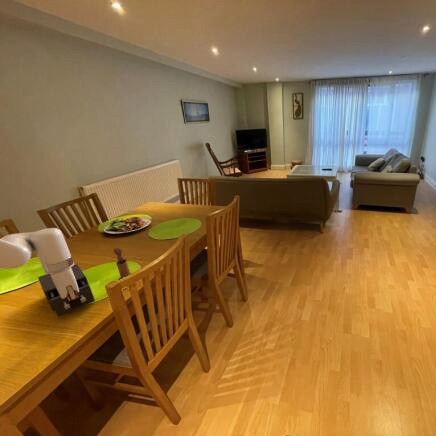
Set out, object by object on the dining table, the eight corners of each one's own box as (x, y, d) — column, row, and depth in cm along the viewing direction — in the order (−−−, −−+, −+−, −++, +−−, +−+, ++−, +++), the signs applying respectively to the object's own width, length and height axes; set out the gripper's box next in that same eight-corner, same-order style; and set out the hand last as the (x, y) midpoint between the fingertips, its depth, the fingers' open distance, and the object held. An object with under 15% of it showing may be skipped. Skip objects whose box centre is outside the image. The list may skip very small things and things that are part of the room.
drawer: (98, 305, 95) (92, 289, 92) (60, 323, 87) (52, 306, 84) (86, 287, 105) (80, 272, 102) (51, 301, 97) (43, 285, 94)
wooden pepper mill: (123, 288, 106) (112, 253, 99) (116, 283, 109) (104, 249, 102) (139, 280, 111) (129, 246, 104) (131, 276, 114) (121, 242, 108)
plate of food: (94, 233, 158) (91, 224, 155) (132, 218, 182) (130, 210, 180) (125, 239, 150) (123, 230, 147) (161, 222, 174) (159, 214, 172)
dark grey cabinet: (93, 294, 102) (85, 276, 98) (53, 311, 93) (43, 292, 89) (84, 281, 111) (76, 263, 107) (46, 295, 102) (37, 276, 98)
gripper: (39, 260, 83) (59, 302, 90) (46, 277, 74) (67, 322, 81) (68, 252, 88) (84, 292, 95) (77, 267, 80) (94, 309, 87)
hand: (76, 305), depth 88 cm, fingers closed
